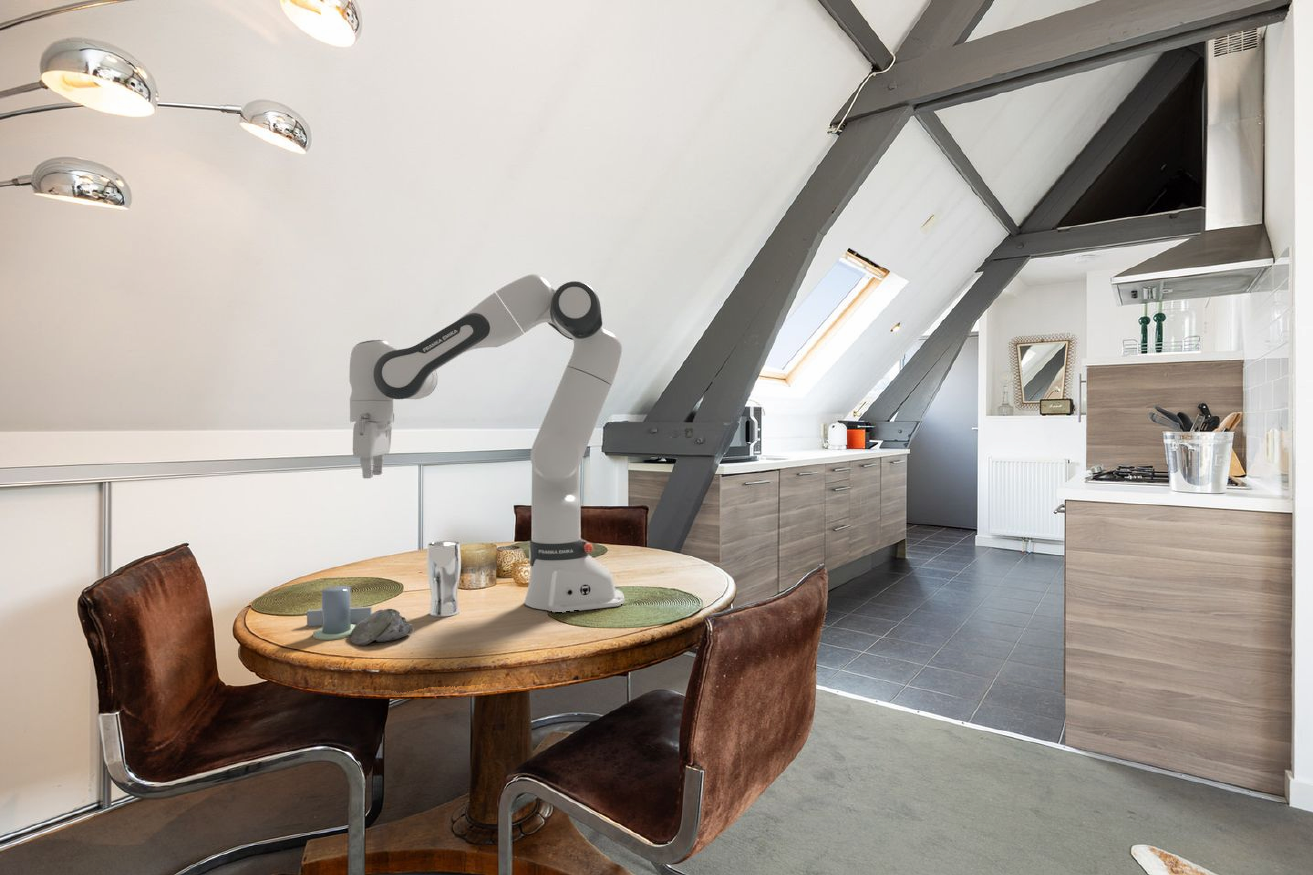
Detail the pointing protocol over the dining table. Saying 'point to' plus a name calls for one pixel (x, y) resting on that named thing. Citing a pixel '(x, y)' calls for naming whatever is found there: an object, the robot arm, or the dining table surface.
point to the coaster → (321, 636)
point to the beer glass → (444, 577)
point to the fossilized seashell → (381, 627)
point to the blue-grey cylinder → (336, 610)
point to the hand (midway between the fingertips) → (372, 476)
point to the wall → (356, 615)
